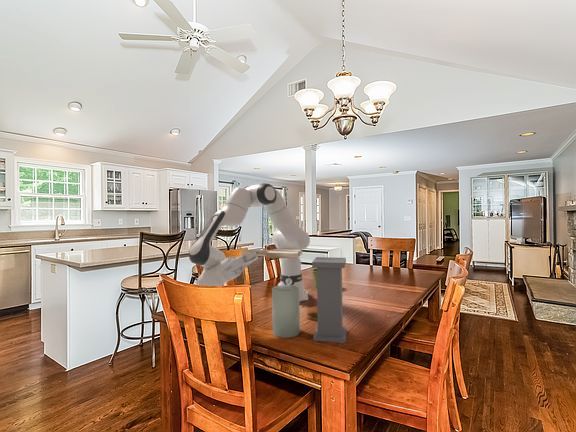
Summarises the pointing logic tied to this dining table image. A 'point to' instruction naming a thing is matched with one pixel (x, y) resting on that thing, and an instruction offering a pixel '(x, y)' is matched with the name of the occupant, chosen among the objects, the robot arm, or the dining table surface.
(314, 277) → the plant pot
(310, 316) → the burger
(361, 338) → the dining table surface
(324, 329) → the plinth
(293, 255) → the cutting board
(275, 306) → the crock
